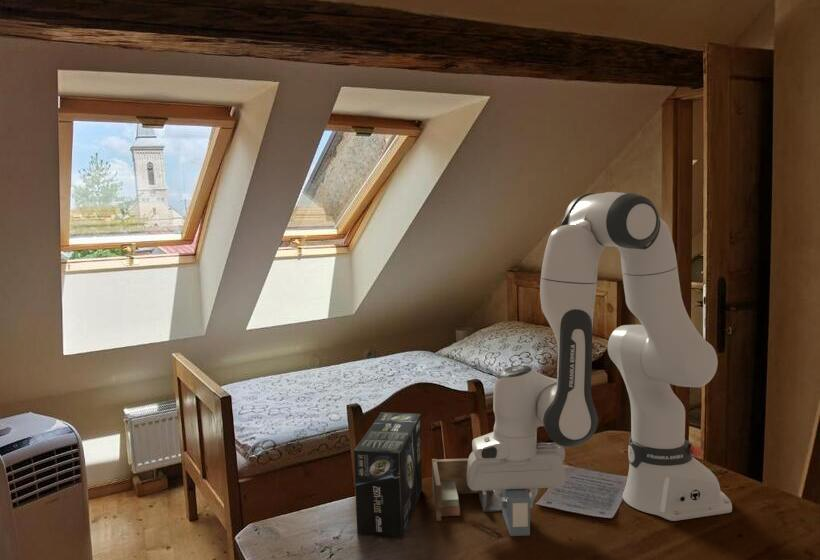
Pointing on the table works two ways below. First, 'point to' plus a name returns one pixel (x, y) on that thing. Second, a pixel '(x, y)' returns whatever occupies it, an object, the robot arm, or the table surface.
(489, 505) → the bookend
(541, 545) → the table surface
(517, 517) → the book
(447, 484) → the shelf
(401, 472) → the box
